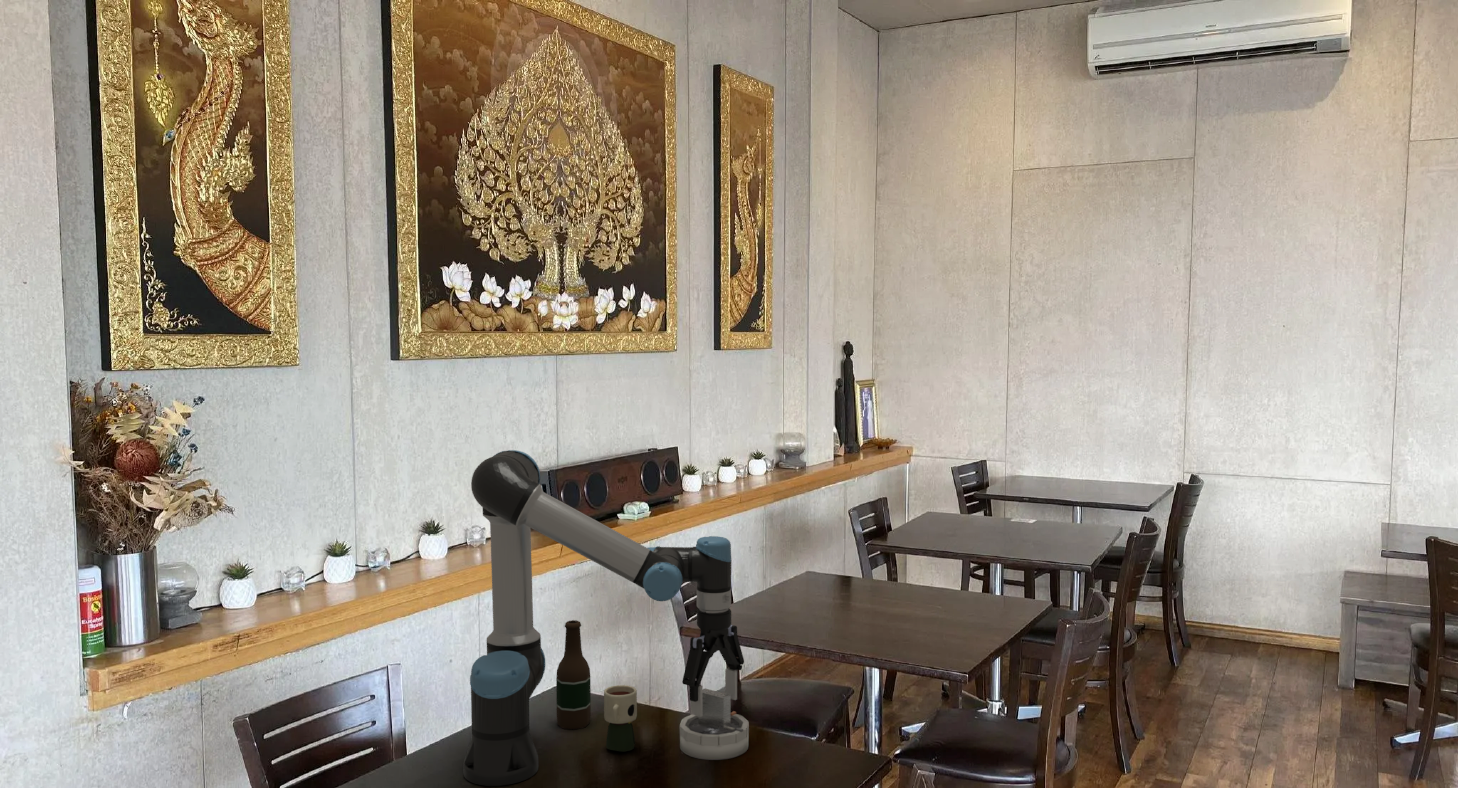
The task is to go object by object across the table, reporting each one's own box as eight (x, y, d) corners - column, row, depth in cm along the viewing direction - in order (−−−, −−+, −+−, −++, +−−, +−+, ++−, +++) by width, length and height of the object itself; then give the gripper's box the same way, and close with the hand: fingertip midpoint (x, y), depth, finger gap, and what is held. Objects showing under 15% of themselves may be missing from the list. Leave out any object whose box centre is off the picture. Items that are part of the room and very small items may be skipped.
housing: (665, 748, 225) (665, 724, 224) (708, 727, 237) (708, 704, 236) (721, 765, 216) (721, 740, 215) (762, 742, 228) (762, 718, 227)
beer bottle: (556, 718, 242) (555, 617, 241) (589, 716, 244) (589, 616, 242) (557, 731, 235) (556, 627, 233) (591, 728, 236) (590, 625, 235)
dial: (678, 733, 225) (678, 694, 224) (709, 718, 234) (709, 681, 233) (719, 745, 218) (719, 705, 218) (749, 729, 227) (749, 691, 227)
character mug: (631, 759, 219) (630, 699, 218) (598, 758, 220) (597, 698, 219) (642, 739, 230) (641, 682, 229) (610, 738, 230) (610, 681, 230)
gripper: (693, 623, 213) (693, 727, 214) (759, 599, 232) (759, 694, 233) (665, 617, 217) (665, 718, 218) (733, 594, 236) (733, 687, 238)
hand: (714, 706), depth 226 cm, fingers open, 12 cm apart
